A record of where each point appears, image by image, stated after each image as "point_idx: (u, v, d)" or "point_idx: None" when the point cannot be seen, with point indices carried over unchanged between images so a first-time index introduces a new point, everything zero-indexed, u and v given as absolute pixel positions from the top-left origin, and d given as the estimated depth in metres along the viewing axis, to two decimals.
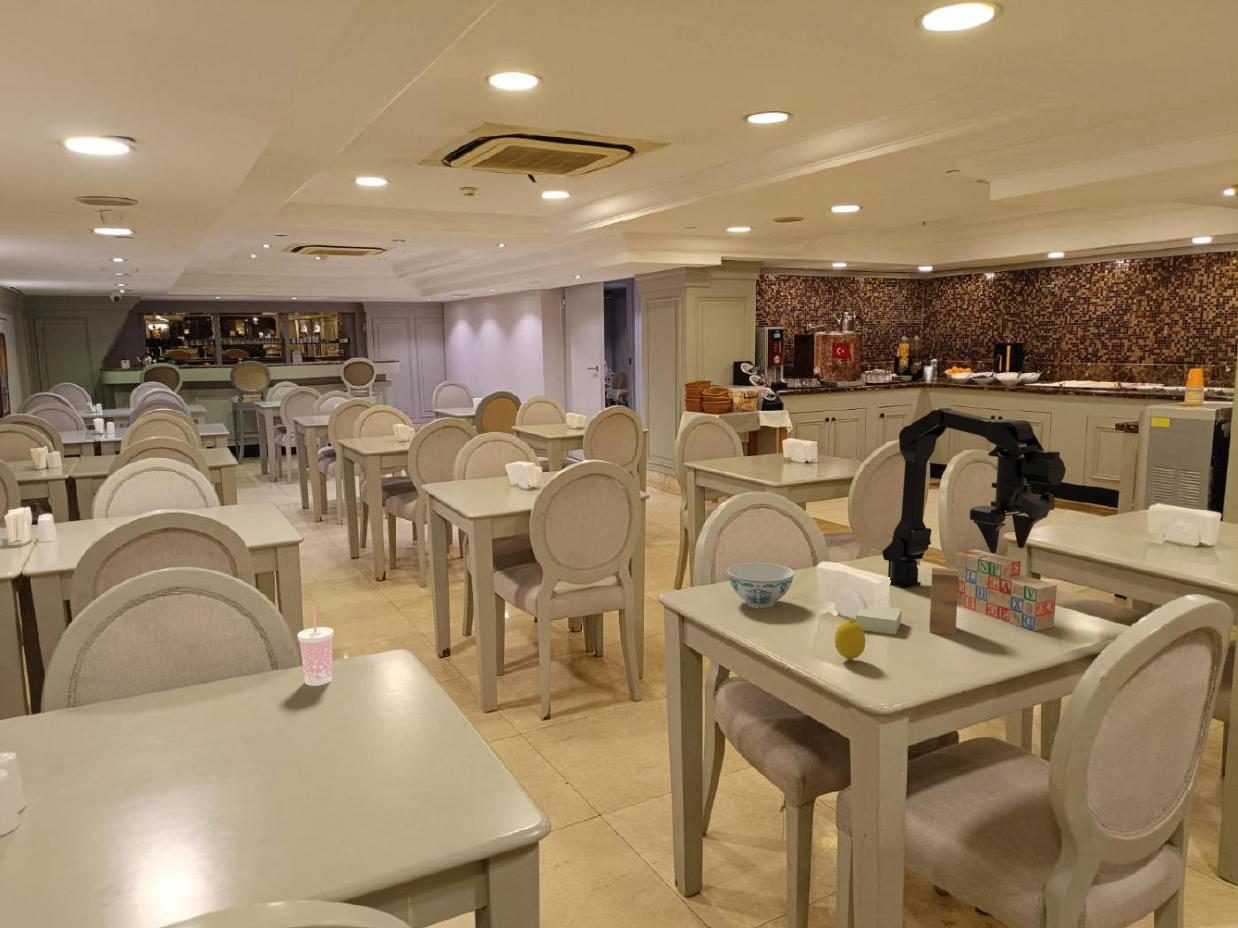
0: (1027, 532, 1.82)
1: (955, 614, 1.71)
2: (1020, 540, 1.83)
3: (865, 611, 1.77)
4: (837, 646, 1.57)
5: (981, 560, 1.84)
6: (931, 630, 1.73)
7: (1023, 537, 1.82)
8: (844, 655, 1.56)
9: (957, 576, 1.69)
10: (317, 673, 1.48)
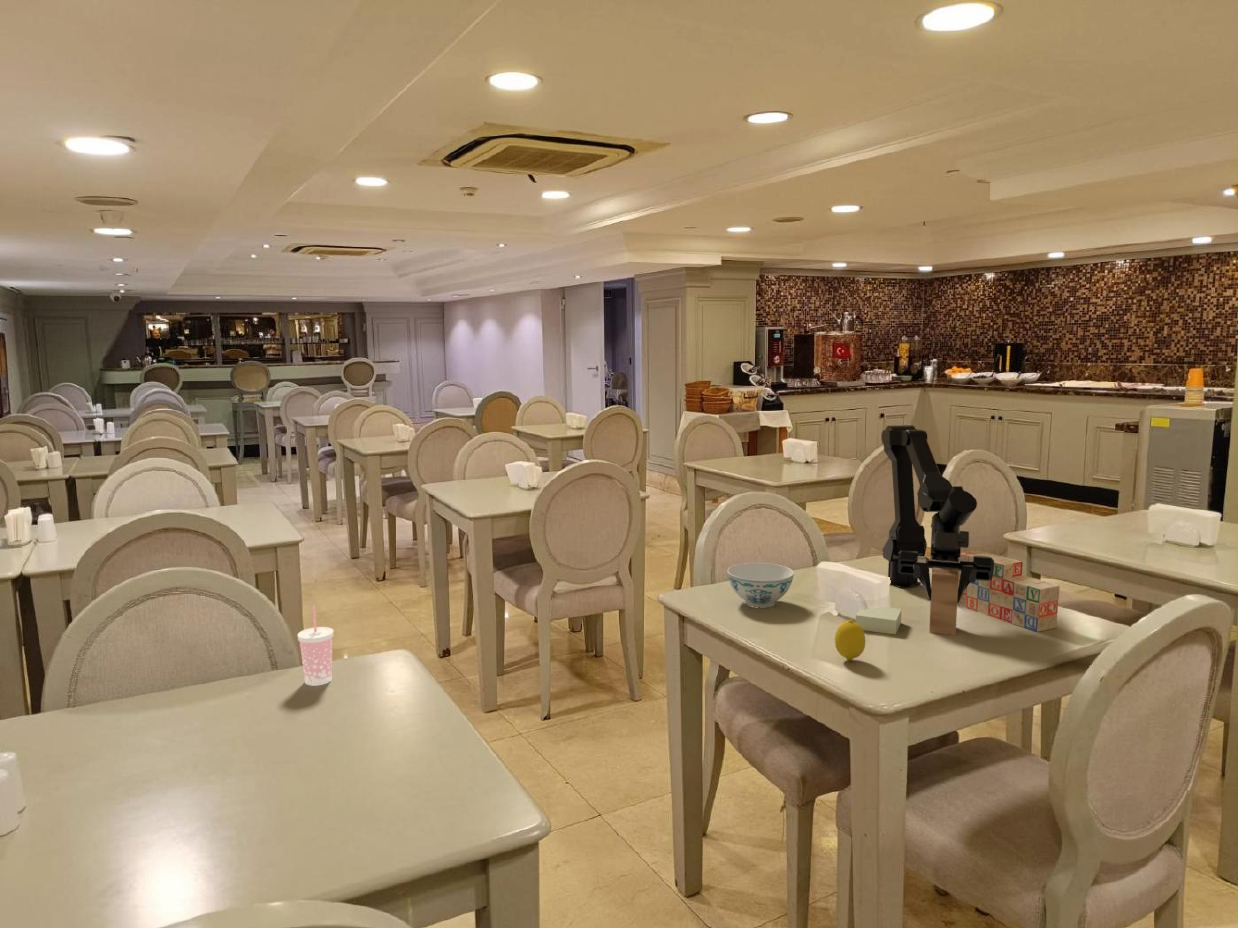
0: (960, 584, 1.72)
1: (955, 614, 1.71)
2: None
3: (865, 611, 1.77)
4: (837, 646, 1.57)
5: None
6: (931, 630, 1.73)
7: None
8: (844, 655, 1.56)
9: (957, 576, 1.69)
10: (317, 673, 1.48)
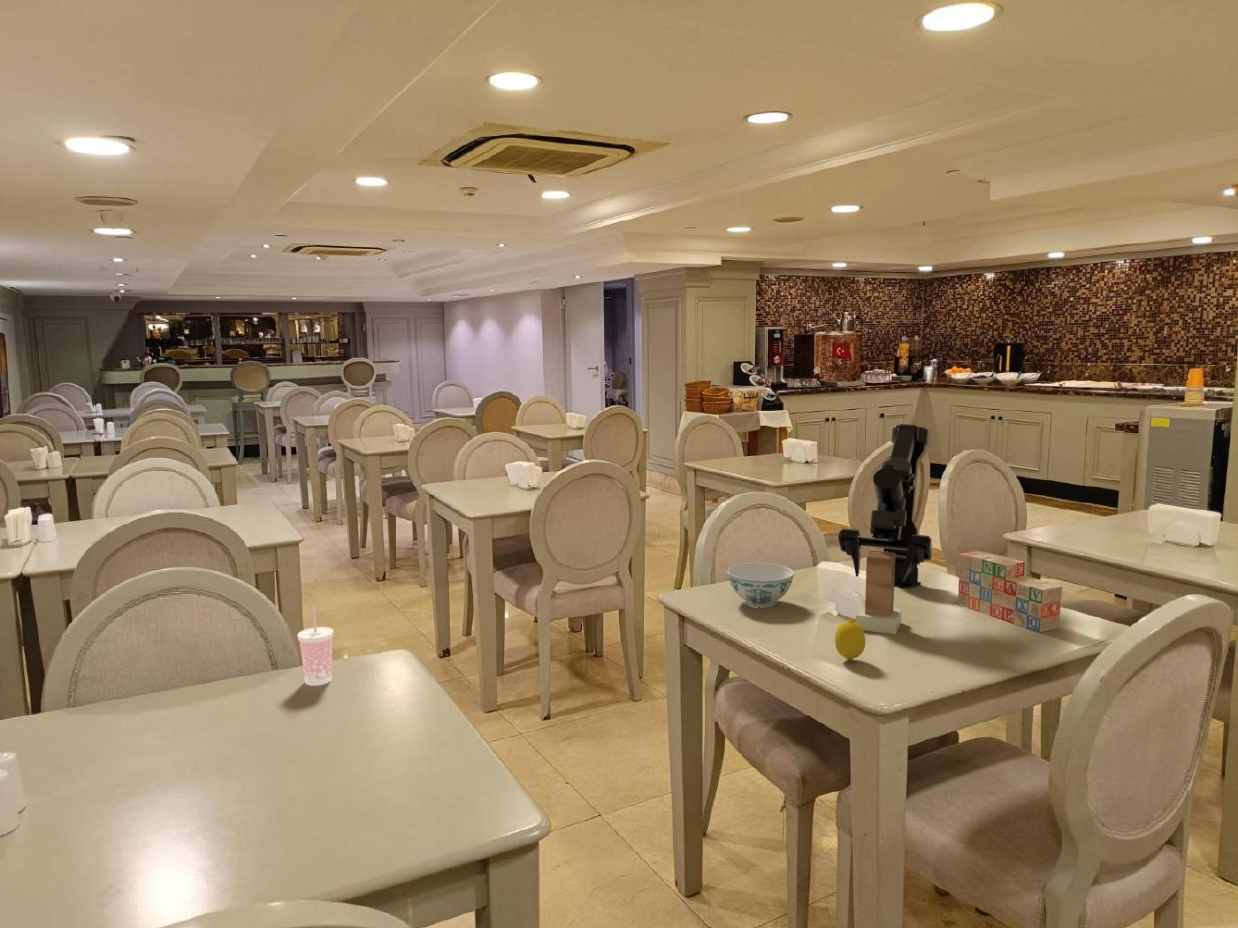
0: (905, 563, 1.73)
1: (889, 597, 1.73)
2: None
3: None
4: (837, 646, 1.57)
5: (985, 561, 1.83)
6: (866, 612, 1.75)
7: None
8: (844, 655, 1.56)
9: (890, 559, 1.72)
10: (317, 673, 1.48)
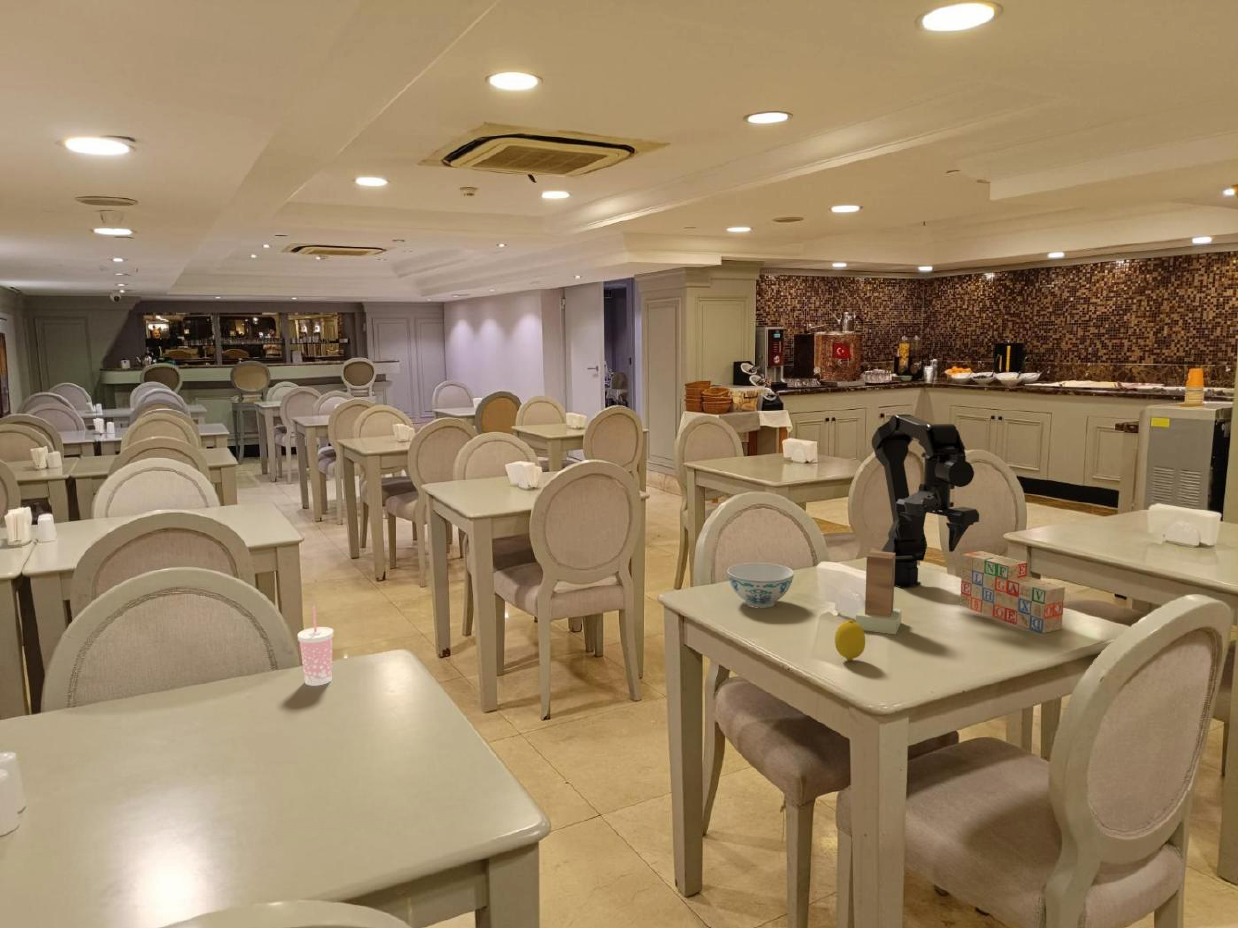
0: (949, 536, 1.85)
1: (889, 597, 1.73)
2: None
3: None
4: (837, 646, 1.57)
5: (988, 562, 1.82)
6: (866, 612, 1.75)
7: None
8: (844, 655, 1.56)
9: (890, 559, 1.72)
10: (317, 673, 1.48)
